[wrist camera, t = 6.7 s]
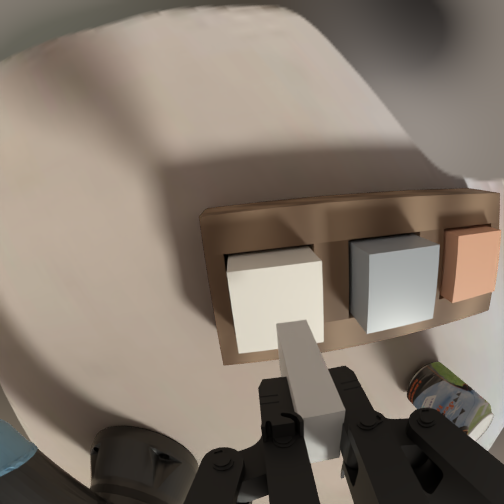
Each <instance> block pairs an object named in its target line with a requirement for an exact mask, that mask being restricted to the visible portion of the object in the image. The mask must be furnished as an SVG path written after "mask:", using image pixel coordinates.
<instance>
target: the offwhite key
mask: <svg viewBox="0 0 504 504" xmlns="http://www.w3.org/2000/svg"><path fill="white" fill-rule="evenodd" d="M227 278H228V285H229V292H230V299H231V306H232V313H233V320H234V326H235V333H236V339H237V346H238V352H239V354H240V353H249V352H258V351H266V350H274V349H278V340H277V328H276V324H277V323H285V322H292V321H299V320H307V322H308V325H309V327H310V329H311V331H312V334H313V336H314V338H315V341H316V343H321V342H324V316H323V278H322V261H321V259H320V258H319V257H318V256H317V255H316V254H315V253H314V252H313V251H312V250H311V249H310V248H309V247H308V246H301V247H293V248H284V249H276V250H267V251H258V252H250V253H241V254H233V255H228V264H227Z"/></svg>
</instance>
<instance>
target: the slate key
mask: <svg viewBox="0 0 504 504" xmlns="http://www.w3.org/2000/svg"><path fill="white" fill-rule="evenodd" d="M348 246H349V311H350V313H351V314H352V315H353V316H354V318H355V319H356V320H357V322H358V323H359V324H360V326H361V327H362V328H363V330H364V331H365V332H366V333H367V334H369V333H373V332H378V331H383V330H387V329H392V328H396V327H400V326H404V325H409V324H413V323H417V322H421V321H425V320H428V319H432V318H433V313H434V305H435V297H436V288H437V278H438V266H439V249H440V245H439V244H437V243H434V242H432V241H429V240H427V239H425V238H422V237H420V236H417V235H415V234H403V235H395V236H386V237H378V238H369V239H361V240H352V241H348Z"/></svg>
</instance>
